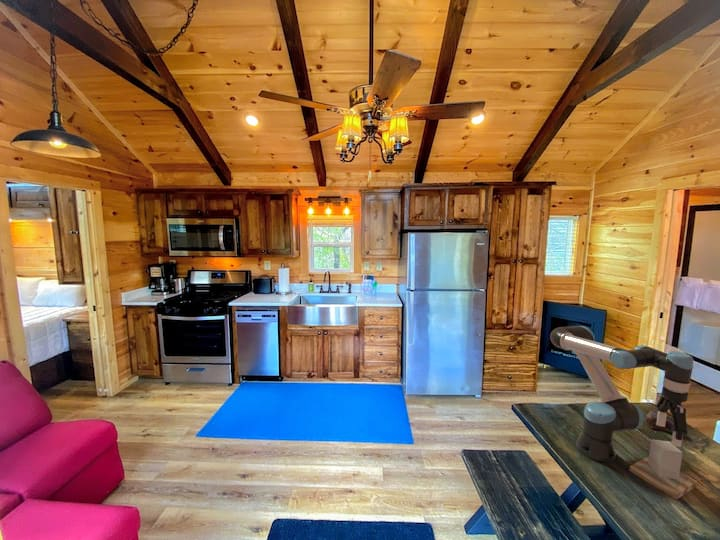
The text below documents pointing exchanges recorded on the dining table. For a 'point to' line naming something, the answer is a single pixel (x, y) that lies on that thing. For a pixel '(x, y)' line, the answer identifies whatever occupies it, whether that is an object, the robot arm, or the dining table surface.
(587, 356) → the robot arm
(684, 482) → the plinth
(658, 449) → the supplement box
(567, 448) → the dining table surface
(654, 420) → the rock
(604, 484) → the dining table surface
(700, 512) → the dining table surface
